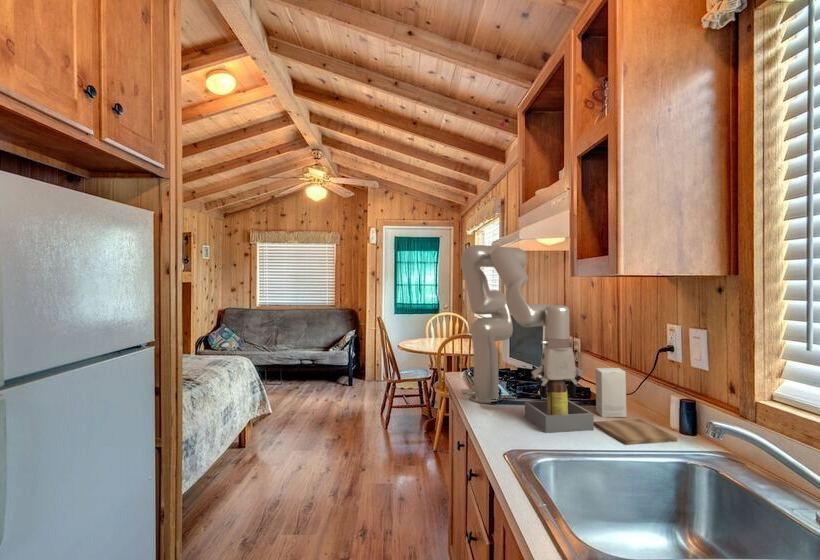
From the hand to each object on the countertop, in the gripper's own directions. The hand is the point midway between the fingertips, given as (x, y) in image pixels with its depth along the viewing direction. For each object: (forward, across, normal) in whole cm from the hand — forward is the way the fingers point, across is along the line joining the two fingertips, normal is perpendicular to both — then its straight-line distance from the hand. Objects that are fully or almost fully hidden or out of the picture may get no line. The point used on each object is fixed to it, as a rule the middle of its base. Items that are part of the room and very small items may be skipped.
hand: (557, 396), depth 137 cm
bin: (+8, 0, 0) cm, 8 cm away
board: (+9, +18, -12) cm, 23 cm away
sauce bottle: (+9, 0, 0) cm, 9 cm away
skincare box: (+9, +22, +5) cm, 24 cm away
